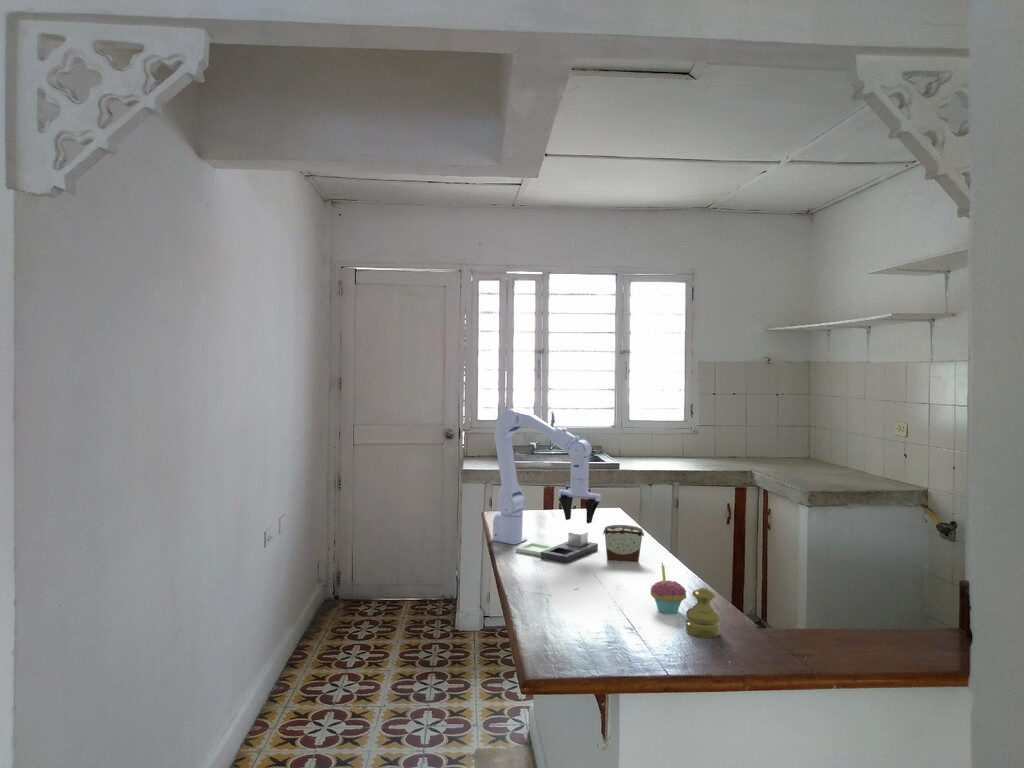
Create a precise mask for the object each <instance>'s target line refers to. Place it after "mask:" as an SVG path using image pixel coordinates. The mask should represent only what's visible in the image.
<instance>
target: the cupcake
mask: <svg viewBox="0 0 1024 768" xmlns="http://www.w3.org/2000/svg"><path fill="white" fill-rule="evenodd" d="M665 570H666V569H665V565H664V564H663V562H661V573H662V580H660V581H657V582H655V583H654V584H653V585H651V587H650V595H651V597H652V598H653V599H654V601H655V603H656V607H657V608H656V609H657V610H659V611H658V612H660V613H662V612H663V614H666V613H669V615H672V614H677V613H678V612H679V609H680V606H681V604H682V601H684V600H686V598H687V590H686V588H685V587H684V586H683V585H681V584H680V583H679V582H677V580H675V581H674V580H673V581H672V580H666V579H667V578H666V571H665Z"/></svg>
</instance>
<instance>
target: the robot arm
mask: <svg viewBox="0 0 1024 768" xmlns="http://www.w3.org/2000/svg"><path fill="white" fill-rule="evenodd" d="M495 426H496V427H495V429H494V439H495V448H496V455H497V463H498V471H499V476H500V484H501V487H500V490H499V492H498V501H497V509H498V511H499V512H497V513H495V515H494V516H493V521H492V538H491V541H494V542H500V543H505V544H508V545H517V544H520V543H523V542H527V541H528V538H525V537H523V523H524V522H523V520H524V519H523V514H524V513H523V512H524V511H523V510H524V509H525V507H526V506H527V498H526V496H525V495H524V493H523V488H522V487H521V486H520V484H519V481H518V475H517V468H516V463H515V457H514V456H515V453H514V448H513V441H512V437H513V435H514V434H515V433H516V432H517V431H518V430H519V429H521V428H522V427H530V428H531V429H533V430H535V431H537V432H539V433H541V434H542V435H545V436H546V437H549V439H550V443H551V444H553V445H554V446H556V447H558V448H560V449H561V450H562V451H564V452H566V453H568V455H569V457H570V477H569V478H570V484H569V485H570V487H569V489H558V490H557V496H558V497H559V498H558V501H559V503H560V505H561V507H562V510H563V514H564V519H565V521H569V520H571V517H572V505H573V499H579V500H580V499H581V500H585V501H584V503H585V509H586V518H585V519H586V524H592V522H593V517H594V514H595V512H596V509H597V507H598V505H599V504H600V501H602V494H599V493H595V492H591V491H589V475H590V471H589V470H590V455H592V450H593V447H592V444H591V443H590V442H589V441H588V440H587V439H584V438H581V439H580V436H578V435H574V434H572V433H570V432H569V431H568V429H567V428H566V427H557V428H555V427H553V426H551V424H549V423H547V422H545V421H544V420H542V419H541V418H540V417H539V416H537V415H535V414H533V413H532V412H531V411H530V410H527V409H525V408H524V407H516V408H505V409H503V410H502V411H501V412H500V413H499V415H497V423H496V425H495Z"/></svg>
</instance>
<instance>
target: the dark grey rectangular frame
mask: <svg viewBox="0 0 1024 768" xmlns="http://www.w3.org/2000/svg"><path fill="white" fill-rule="evenodd" d="M598 548H599V543H597V542H596V543H595V542H591V541H590V542H589V541H588V545H587V546H585V547H582V548H579V547H574V546H569V545H568V541H565V542H562V543H560V544H557V545H555V547H552V548H550V549H547V550H544V551H542V552H541V557H540V559H541V558H543V559H542V560H546V559H547V561H551V562H556V561H557V562H556V563H561V562H562V563H561V564H566V563H567V564H569V563H571V562H573V561H576V560H578V559H581V558H582V557H585V556H587V555H589V553H590V554H592V553H594V552H596V551H598V550H599V549H598ZM568 562H569V563H568Z"/></svg>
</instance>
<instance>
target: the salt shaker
mask: <svg viewBox="0 0 1024 768" xmlns="http://www.w3.org/2000/svg"><path fill="white" fill-rule="evenodd" d="M691 595H692V596H693V597H694V598H695V599H696V601H697V602H696V603H695V604H694V605H693V606H692V607H690V608H688V609H687V610H686V612H685V613H686V614H685V615H686V618H687V619H686V621H685V631H686V632H687V633H688V634H689V635H690V636H693V635H694V636H693V637H696V636H697V638H700V637H705V638H704V639H712V638H711V637H714V638H717V637H719V636H720V634H721V624H720V623H719V622H720V621H721V617H722V616H721V614H720V613H719V612H718V610H715V608H714V606H712V605H711V603H710V602H711V601H712V600H713V599H715V598H716V593H715V592H714V591H712V590H711V589H709V588H708V587H703V586H702V587H699V588H696V589H695V590H693V591H692V594H691Z"/></svg>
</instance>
